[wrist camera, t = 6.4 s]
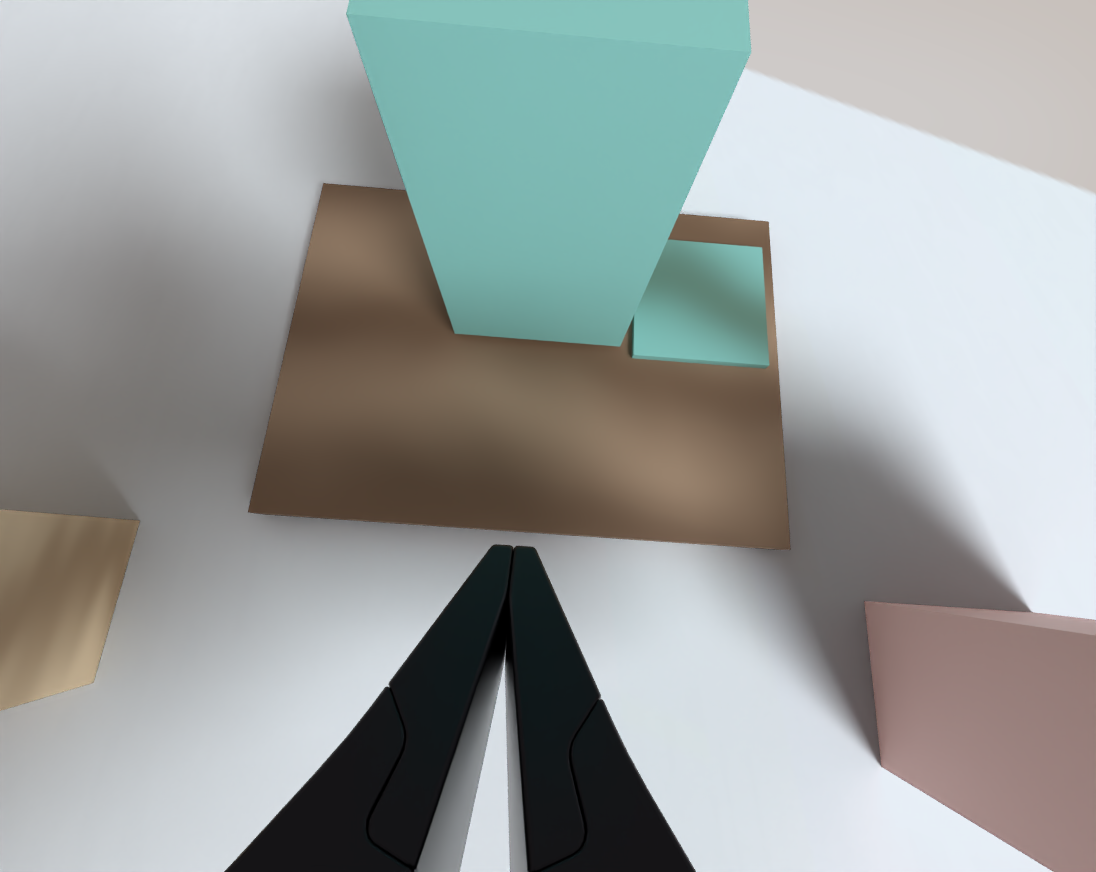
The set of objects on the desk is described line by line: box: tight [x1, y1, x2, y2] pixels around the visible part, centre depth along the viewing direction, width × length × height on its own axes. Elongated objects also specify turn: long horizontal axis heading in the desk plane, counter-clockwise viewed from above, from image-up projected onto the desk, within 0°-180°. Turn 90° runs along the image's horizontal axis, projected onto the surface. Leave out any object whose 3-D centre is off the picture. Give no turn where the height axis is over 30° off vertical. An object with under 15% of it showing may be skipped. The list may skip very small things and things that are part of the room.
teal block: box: [346, 0, 751, 347], centre depth 12 cm, size 5×6×10 cm
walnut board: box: [248, 183, 791, 550], centre depth 17 cm, size 13×18×1 cm
